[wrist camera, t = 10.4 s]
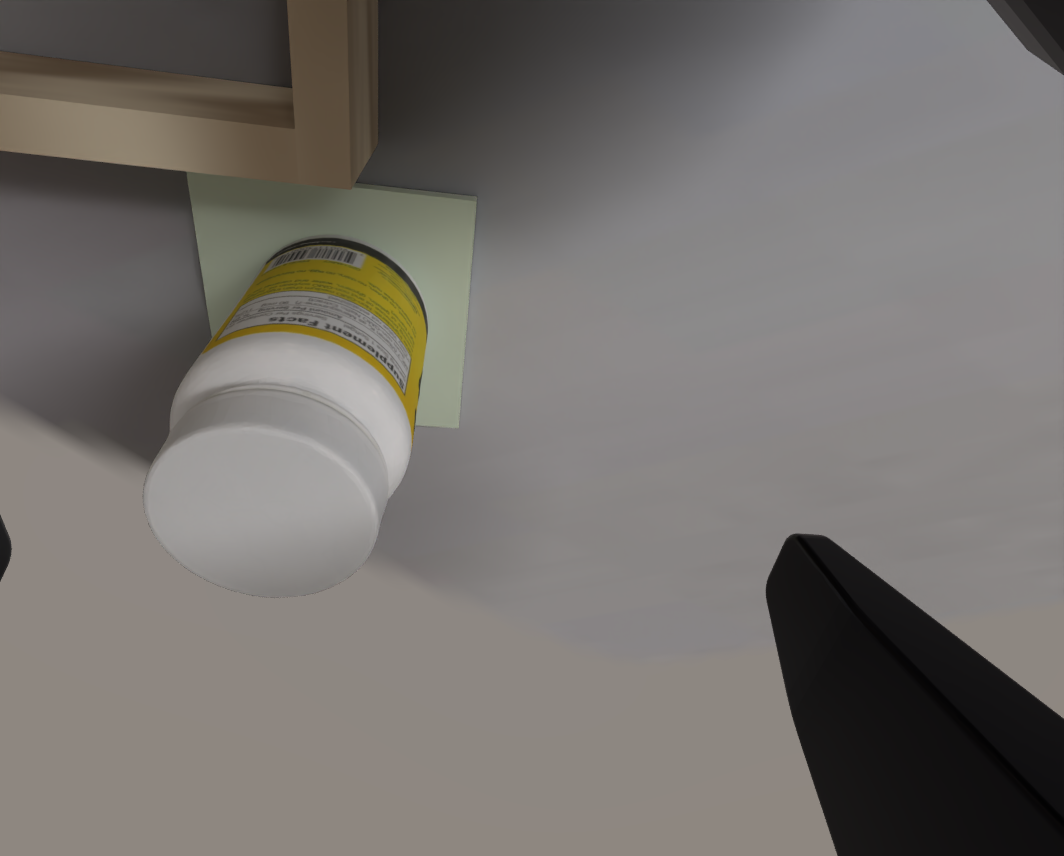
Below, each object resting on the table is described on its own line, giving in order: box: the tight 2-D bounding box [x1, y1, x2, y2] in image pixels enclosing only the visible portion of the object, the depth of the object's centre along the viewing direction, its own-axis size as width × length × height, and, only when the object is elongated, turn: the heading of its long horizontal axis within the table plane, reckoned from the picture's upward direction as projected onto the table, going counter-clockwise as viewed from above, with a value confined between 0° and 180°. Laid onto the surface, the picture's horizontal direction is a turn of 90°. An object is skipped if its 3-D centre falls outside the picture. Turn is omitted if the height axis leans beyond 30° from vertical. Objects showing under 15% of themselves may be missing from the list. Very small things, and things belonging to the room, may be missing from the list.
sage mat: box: [186, 171, 477, 428], centre depth 19 cm, size 7×7×1 cm
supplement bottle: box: [143, 235, 428, 598], centre depth 15 cm, size 5×5×8 cm
